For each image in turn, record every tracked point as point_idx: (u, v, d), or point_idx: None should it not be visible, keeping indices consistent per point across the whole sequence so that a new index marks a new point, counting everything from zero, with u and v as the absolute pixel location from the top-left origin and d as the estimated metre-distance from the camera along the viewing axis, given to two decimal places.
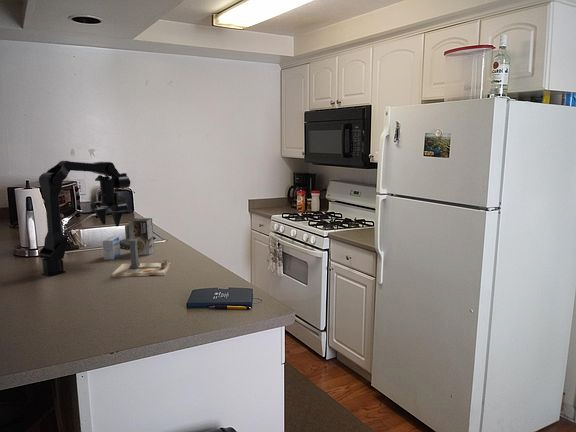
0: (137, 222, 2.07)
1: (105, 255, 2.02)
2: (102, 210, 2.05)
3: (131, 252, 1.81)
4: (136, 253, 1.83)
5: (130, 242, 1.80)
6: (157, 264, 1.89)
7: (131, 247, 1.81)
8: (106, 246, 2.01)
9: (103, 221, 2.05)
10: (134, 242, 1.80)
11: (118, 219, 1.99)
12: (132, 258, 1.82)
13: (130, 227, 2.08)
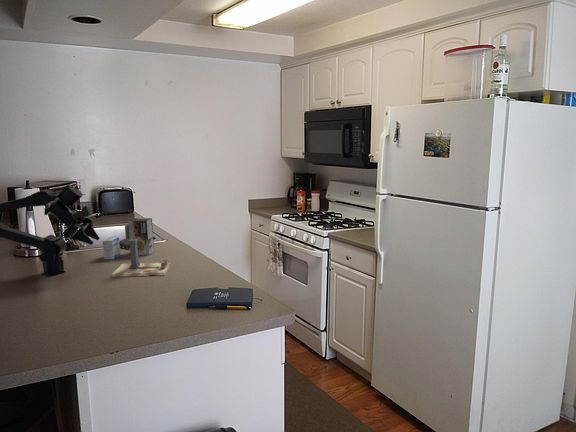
0: (137, 222, 2.07)
1: (105, 255, 2.02)
2: (87, 228, 1.84)
3: (131, 252, 1.81)
4: (136, 253, 1.83)
5: (130, 242, 1.80)
6: (157, 264, 1.89)
7: (131, 247, 1.81)
8: (106, 246, 2.01)
9: (95, 237, 1.85)
10: (134, 242, 1.80)
11: (85, 238, 1.76)
12: (132, 258, 1.82)
13: (130, 227, 2.08)
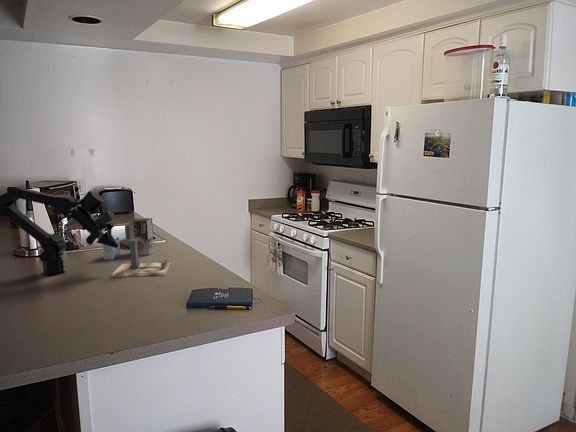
0: (137, 222, 2.07)
1: (105, 255, 2.02)
2: None
3: (131, 252, 1.81)
4: (136, 253, 1.83)
5: (130, 242, 1.80)
6: (157, 264, 1.89)
7: (131, 247, 1.81)
8: (106, 246, 2.01)
9: None
10: (134, 242, 1.80)
11: (110, 242, 1.80)
12: (132, 258, 1.82)
13: (130, 227, 2.08)
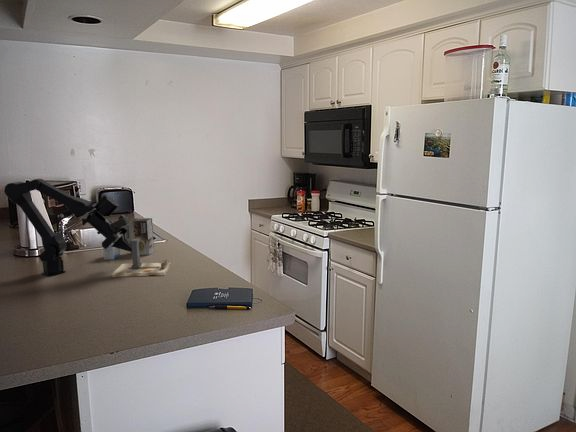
0: (137, 222, 2.07)
1: (105, 255, 2.02)
2: None
3: (133, 252, 1.81)
4: (138, 253, 1.83)
5: (132, 242, 1.80)
6: (157, 264, 1.89)
7: (133, 247, 1.81)
8: None
9: None
10: (136, 242, 1.81)
11: (125, 246, 1.81)
12: (134, 258, 1.82)
13: (130, 227, 2.08)
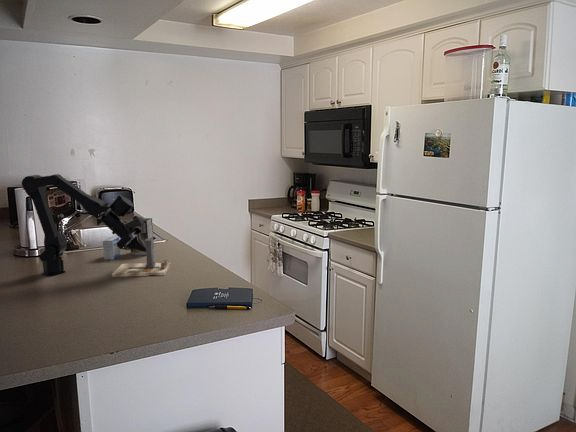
0: None
1: (105, 255, 2.02)
2: None
3: (147, 252, 1.82)
4: (152, 253, 1.83)
5: (146, 242, 1.81)
6: (157, 264, 1.89)
7: (147, 247, 1.81)
8: (106, 246, 2.01)
9: None
10: (150, 242, 1.81)
11: (139, 246, 1.81)
12: (148, 258, 1.82)
13: None
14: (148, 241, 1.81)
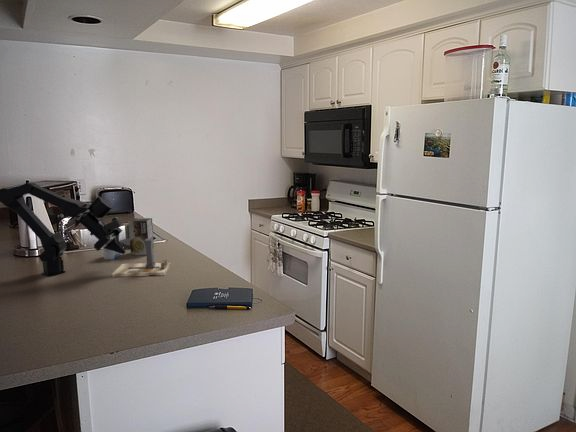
0: (137, 222, 2.07)
1: (105, 255, 2.02)
2: None
3: (147, 252, 1.82)
4: (152, 253, 1.83)
5: (146, 242, 1.81)
6: (157, 264, 1.89)
7: (147, 247, 1.81)
8: None
9: None
10: (150, 242, 1.81)
11: (117, 248, 1.81)
12: (148, 258, 1.82)
13: (130, 227, 2.08)
14: (148, 241, 1.81)
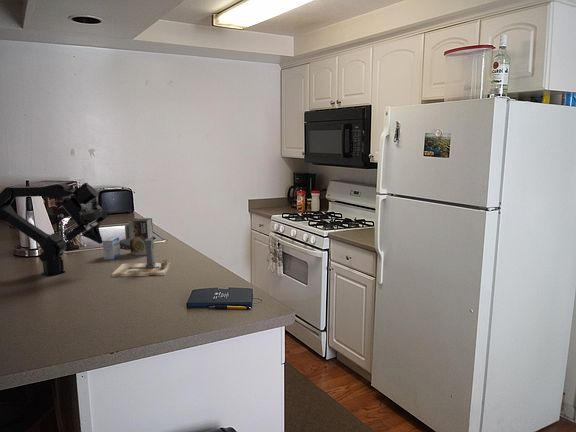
0: (137, 222, 2.07)
1: (105, 255, 2.02)
2: None
3: (147, 252, 1.82)
4: (152, 253, 1.83)
5: (146, 242, 1.81)
6: (157, 264, 1.89)
7: (147, 247, 1.81)
8: (106, 246, 2.01)
9: None
10: (150, 242, 1.81)
11: (94, 238, 1.80)
12: (148, 258, 1.82)
13: (130, 227, 2.08)
14: (148, 241, 1.81)
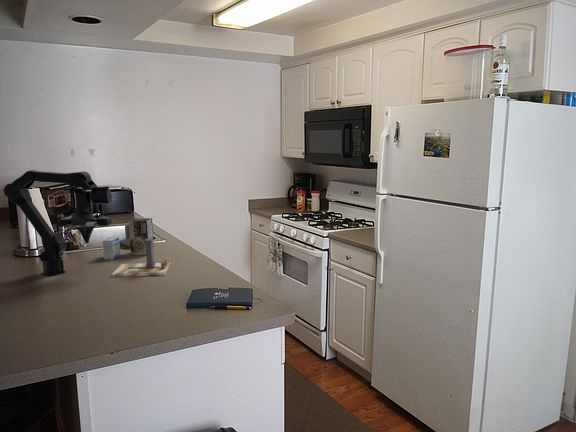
0: (137, 222, 2.07)
1: (105, 255, 2.02)
2: None
3: (147, 252, 1.82)
4: (152, 253, 1.83)
5: (146, 242, 1.81)
6: (157, 264, 1.89)
7: (147, 247, 1.81)
8: (106, 246, 2.01)
9: None
10: (150, 242, 1.81)
11: None
12: (148, 258, 1.82)
13: (130, 227, 2.08)
14: (148, 241, 1.81)
